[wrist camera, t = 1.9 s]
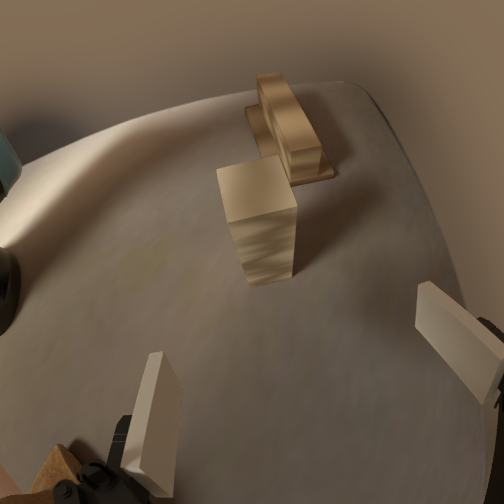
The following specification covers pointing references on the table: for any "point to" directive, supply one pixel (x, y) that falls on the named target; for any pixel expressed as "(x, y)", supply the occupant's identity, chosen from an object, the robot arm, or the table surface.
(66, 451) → the tan upright curved piece
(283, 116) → the ridge
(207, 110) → the table surface
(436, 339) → the robot arm
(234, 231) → the block
